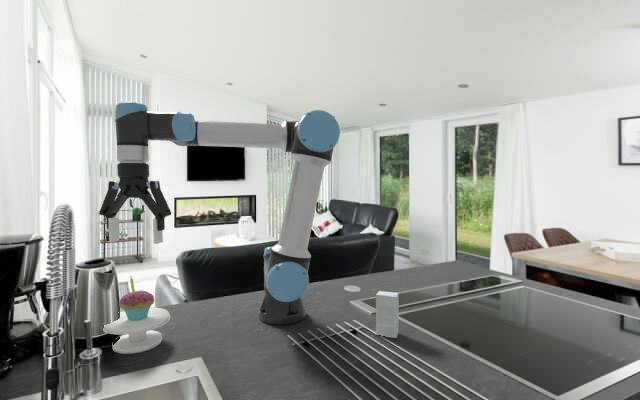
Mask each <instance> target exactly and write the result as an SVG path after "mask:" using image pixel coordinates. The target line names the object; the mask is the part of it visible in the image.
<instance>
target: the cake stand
mask: <svg viewBox="0 0 640 400" xmlns="http://www.w3.org/2000/svg"><path fill="white" fill-rule="evenodd" d="M170 319H171V314H170V312H169V311H168V310H167V309H165V308H162V307H154V306H153V307H152V306H151V307H150V309H149V312H148V315H147V317H146V318H144V319H142V320H137V321H131V320H128V318H127V315H126V313H125V311H124V310H123V311H120V318H119V319H118V320H116V321H114V322H112V323H110V324H107V325H104V328H103V330H102V331H103V332H104V333H107V334H110V335H118V336H119V337H120V339H119V340H118V341H117V342H116V343H115V344H114V345H113V344H112V350H113V352H114V353H117V354H121V355H122V354H124V355H131V354H138V353H143V352H146V351H149V350H152V349H154V348H157V346H159V345H160V344H161V343H162V341H163V335H162V333H161V332H160V331H157V330H155V329H159V328H160V327H162V326H165V325H166V324H168V322H169V321H170Z"/></svg>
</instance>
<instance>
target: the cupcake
mask: <svg viewBox="0 0 640 400" xmlns="http://www.w3.org/2000/svg"><path fill="white" fill-rule="evenodd" d="M129 277H130V278H129V282H130V289H131V291H130V292H128V293H126V294H125V295H123V296H122V297H121V298H120V299H119V308H120V309H122V310H123V311H125V313H126V315H127V318H128V320H131V321H137V320H142V319H144V318H146V317H147V315H148V312H149V309H150V307H152V305H154V303H155V296H154V295H153V294H152V293H150V292H148V291H147V290H143V289H142V290H135V284H134V283H135V282H134V278H133V277H132V275H130V276H129Z"/></svg>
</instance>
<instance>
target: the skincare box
mask: <svg viewBox="0 0 640 400" xmlns="http://www.w3.org/2000/svg"><path fill="white" fill-rule="evenodd" d="M399 303H400V302H399V292H393V291H392V292H391V291H384V290H383V291H382V290H378V292H377V293H376V294H375V336H376V335H381V336H380V337H383V336H385V337H384V338H391V339H392V338H393V339H397V338H398V335H399V325H400V324H399V321H400V320H399V317H400V316H399V310H400V309H399V308H400V307H399Z"/></svg>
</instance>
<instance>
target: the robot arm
mask: <svg viewBox="0 0 640 400" xmlns="http://www.w3.org/2000/svg"><path fill="white" fill-rule="evenodd" d="M114 122H115V135H116V136H115V137H116V160H117V162H119V163H117V165H116V167H117V169H116V170H117V177H118V178H119V180H110V181H108V186H107V187H108V188H107V190H106V194H105V197H104V200H103V201H102V204H101V207H100V210H99V215H100V216H104V217H105V218H106V228H107V230H108V242H109V243H115V242H119V241H120V230H119V229H120V225H119V223H120V222H119V216H117V214H118V213H119V211H121V208H122V207H124V206H123V205H124V204H125V203H126V202H127V200H128V199H131V198H132V199H133V198H134V199H139V200H141V201H143V203H144V204H145V205H146V207H147V208H148V209H149V210H150V212H151V213H152V215H153V216H154V218H152V227H153V228H152V229H153V230H152V231H153V232H152V233H153V236H152V237H153V244H155V245H157V244H162V243H164V242H163V241H164V236H163V232H164V231H165V228H166V227H165V225H166V224H165V219H166V218H167V217H169V216H171V215H172V211H171V208H170V206H169V204H168V202H167V201H166V198H165V196H164V194H163V192H162V190H161V184H160V180H150V181H149V177H150V165H149V163H147V162H149V157H150V155H149V141H166V142H172V143H173V144H175V146H178V147H179V146H180V147H188V146H206V147H231V148H232V147H234V148H253V149H254V148H257V149H258V148H259V149H281V150H282V152H283V153H290V156H291V157H292V159H293V161H294V165H293V169H292V175H291V180H290V183H289V188H288V194H287V199H286V203H285V208H284V213H283V217H282V221H281V222H282V223H281V227H280V232H279V236H278V237H279V238H278V242H277V243H276V244H275V245H273V246H267V247H265V248H264V250H263V251H264V253H263V260H264V261H263V264H264V265H263V273H264V274H263V275H264V276H263V277H264V279H263V280H264V281H263V282H264V283H263V284H264V285H263V287H264V290H263V291H264V292H263V293H264V294H263V298H262V300H261V303H260V306H259V310H258V318H259V319H260V321H262V322H264V323H266V324H271V325H290V324H295V323H298V322H301V321H303V320H304V319H305V318H306V316H307V315H306V313H307V312H306V306H305V302H304V299H303V295H305V293H306V292H307V290H308V287H309V283H310V276H309V274H308V273H309V269H310V268H309V267H310V264H311V263H310V262H311V258H312V255H311V253H310V252H309V250H308V248H309V242H310V239H311V238H310V237H311V232H312V227H313V224H314V223H313V222H314V218H315V214H316V209H317V204H318V199H319V194H320V190H321V185H322V182H323V181H322V179H323V175H324V170H325V168H326V167H327V166H328V165H330V164H331V163H332V158H333V153H334V149H335V146H336V145H337V144H338V142H339V139H340V137H341V136H340V134H341V130H340V125H339V122H338V121H337V119H336V118H335V116H333V115H332V114H331V113H330V112H328V111H326V110H322V109H316V110H311V111H308V112H305V113H304V114H303V115H302V116H301V117H300V118H299V120H295V121H283V122H282V123H281V124H279V123H274V124H273V123H259V122H258V123H257V122H256V123H255V122H238V121H236V122H235V121H214V120H211V121H210V120H196V119H195V116H194V115H193V114H192V113H191V112H182V111H176V112H175V111H171V112H170V111H167V112H166V111H161V112H160V111H149V110H148V107H147V105H146V104H144V103H141V102H133V101H122V102H118V103H117V104H116V106H115V119H114ZM119 189H120V190H119ZM149 189H150V191H149Z"/></svg>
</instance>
